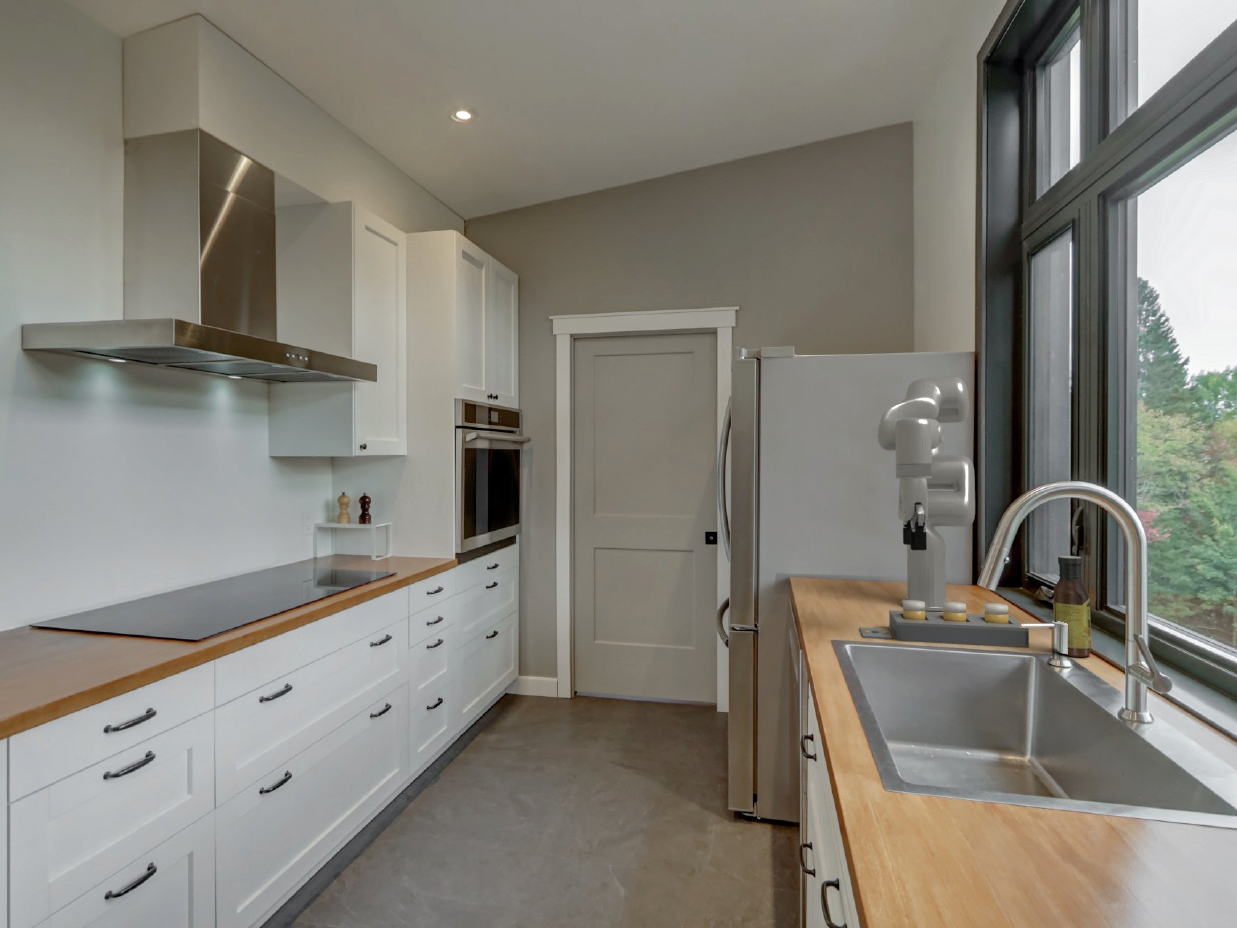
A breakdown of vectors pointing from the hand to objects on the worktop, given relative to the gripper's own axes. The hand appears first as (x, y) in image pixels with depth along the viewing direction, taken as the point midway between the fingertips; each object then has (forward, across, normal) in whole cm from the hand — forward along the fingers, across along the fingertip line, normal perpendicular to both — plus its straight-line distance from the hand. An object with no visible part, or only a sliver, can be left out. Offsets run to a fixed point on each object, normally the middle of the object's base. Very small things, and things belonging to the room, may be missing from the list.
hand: (914, 547), depth 151 cm
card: (+20, +1, -9) cm, 22 cm away
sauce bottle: (+20, +9, +28) cm, 36 cm away
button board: (+20, 0, +8) cm, 22 cm away
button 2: (+18, 0, +17) cm, 25 cm away
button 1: (+18, 0, 0) cm, 18 cm away
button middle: (+18, 0, +8) cm, 20 cm away
